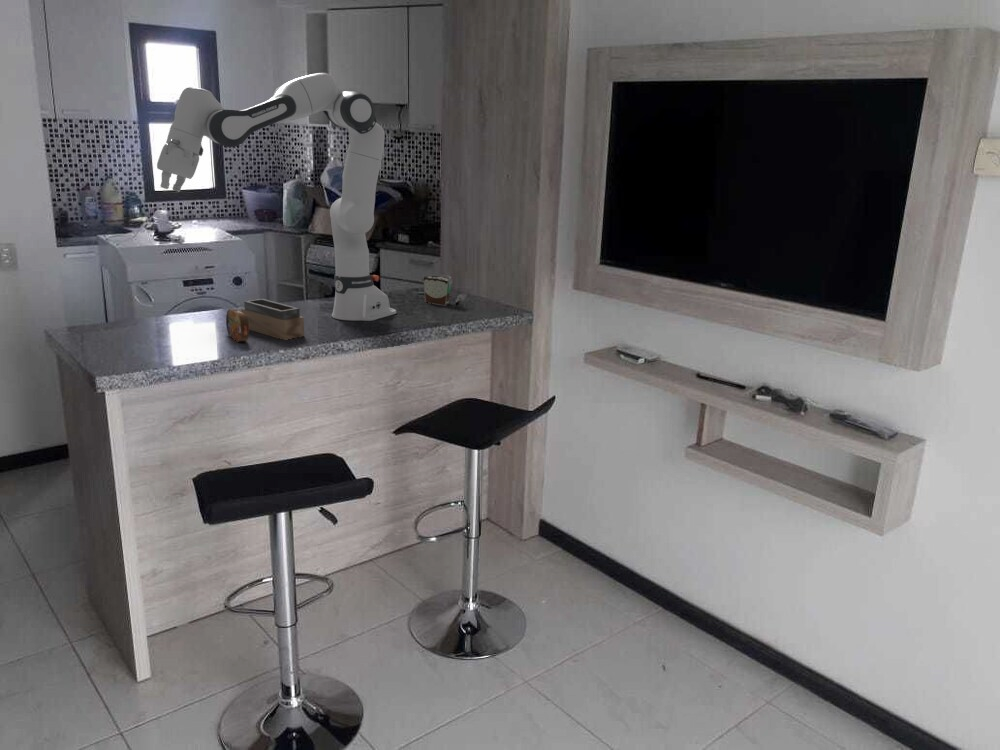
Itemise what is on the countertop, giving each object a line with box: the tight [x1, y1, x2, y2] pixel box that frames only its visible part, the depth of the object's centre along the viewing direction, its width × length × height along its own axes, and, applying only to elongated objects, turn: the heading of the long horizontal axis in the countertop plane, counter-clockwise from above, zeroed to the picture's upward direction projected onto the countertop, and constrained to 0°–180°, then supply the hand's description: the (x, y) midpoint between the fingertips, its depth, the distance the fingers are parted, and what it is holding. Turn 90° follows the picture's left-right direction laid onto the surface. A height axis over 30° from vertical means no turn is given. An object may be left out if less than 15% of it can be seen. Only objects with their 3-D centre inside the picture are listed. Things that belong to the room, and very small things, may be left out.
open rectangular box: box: [240, 298, 305, 341], centre depth 247 cm, size 7×22×8 cm, turn 50°
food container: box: [421, 274, 453, 307], centre depth 296 cm, size 12×6×10 cm, turn 58°
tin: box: [225, 308, 250, 343], centre depth 238 cm, size 15×3×8 cm, turn 33°
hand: (170, 189), depth 232 cm, fingers open, 8 cm apart
